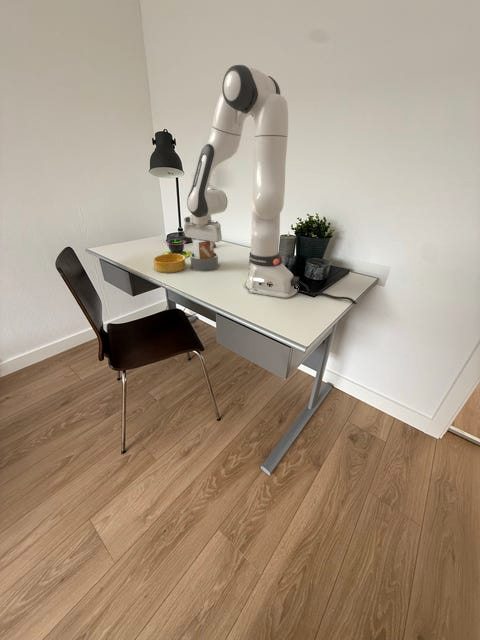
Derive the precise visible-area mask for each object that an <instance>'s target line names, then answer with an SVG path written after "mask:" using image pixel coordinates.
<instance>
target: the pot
mask: <svg viewBox="0 0 480 640" xmlns="http://www.w3.org/2000/svg"><path fill="white" fill-rule="evenodd" d="M189 259H190V268H191V269H192V270H194V271H197V272H210V271H215V270H216V269H218V268H219V255H218V253H217V252H215V251H214V257H213V258H208V259H198V258H194V252H192V253H190V256H189Z"/></svg>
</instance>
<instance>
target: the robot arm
mask: <svg viewBox="0 0 480 640" xmlns="http://www.w3.org/2000/svg"><path fill="white" fill-rule="evenodd" d="M288 108H289V107H288V102H287V100H286V98H285V97H284V96H282V95H281V88H280V86H279V84H278V82H277V81H276V80H275V79H274V77H272V76H270V75H267V74H266V73H264V72H262V71H261V70H260V69H256V68H254V67H249V66H247V65H244V64H234V65H232V66H230V67H229V68H228V69H227V70H226V72H225V74H224V75H223V80H222V93H220V95H219V97H218V100H217V103H216V106H215V109H214V114H213V118H212V124H211V130H210V134H209V137H208V140H207V142H206V144H205V145H204V146H203V147H202V149H201V151H200V154H199V157H198V162H197V165H196V170H195V173H194V177H193V180H192V182H191V185H190V191H189V193H188V196H187V198H186V206H187V209H188V211H189V213H191V214H190V215H187V216H184V217H183V222H184V223H183V232H184V233H183V234H184V236H185V237H186V238H188V239H189V238H190V239H191V241H192V242H193V240H197V239H200V240H206V241H210V244H211V245H210V246H209V250H211V251H212V250H213V246H214V244H216V243H220V242H221V241H223V236H222V230H221V229H222V228H221V227H222V226H221V223H220V222H219V221H217V220H212V215H217V214H221V213H224V212H225V211H226V209H227V207H228V197H227V195H226V193H225V192H224V190H222V189H218V188H217V187H215V186H213V185H212V184H211V183H210V182H211V181H210V180H211V177H212V173H213V172H214V170H215V169H216V167H218V165H220V164H222V163H223V162H225V161H227V160H229V159H230V158H233V156H234V155H236V153H237V152H238V149H239V147H240V145H241V144H240V143H241V139H242V133H243V128H244V124H245V121H246V119H247V118H248V117H249V116H251V117H252V118H253V119H254V120H253V121H254V135H253V136H254V137H253V167H252V168H253V170H252V171H253V172H252V197H251V198H252V200H251V203H252V204H251V230H250V231H251V232H250V233H251V235H250V252H249V258H248V259H249V263H248V264H249V270H248V276H247V279H246V282H245V286H246V288H248V289H249V293H251V294H257V295H263V296H269V297H276V298H282V299H288V298H291V297H293V296H295V295H296V294H297V293H298V292H299V290H300V287H299V288H298V286H299V285H302V286H303V287H304V288H305V289H306V292H307V291H308V292H307V294H309V295H311V296H324V297H328V298H332V299H335V300H348V301H351V302H352V303H353V304H354V305H357V304H358V303H357V302H356V300H354V299H353V298H352V297H348V296H338V295H337V296H336V295H332V294H329V293H326V292H312V291H310V288H309V286H308V285H307V284H306V283H305V282H303V281H300V276H295V275H294V274H293V273H292V272H291V271H290V270H289V268H287V266H285V264H283V260H284V255H280V253H279V249H280V247H279V246H280V235H281V230H280V229H281V213H282V211H283V209H284V205H285V192H286V165H287V164H286V163H287V162H286V161H287V151H288V139H289V138H288V137H289V109H288ZM297 285H298V286H297ZM294 286H295V287H296V288H298V290H297V289H294ZM309 291H310V293H309Z"/></svg>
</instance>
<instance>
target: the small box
mask: <svg viewBox="0 0 480 640" xmlns="http://www.w3.org/2000/svg"><path fill="white" fill-rule="evenodd" d="M192 245H193V253H194V258H198V259H208V258H213V257H214V252H215V247H214V246H213V250H212V251H211V250H209V246H210V245H211V244H210V241H206V240H200V239H197V240H193V241H192Z"/></svg>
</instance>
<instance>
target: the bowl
mask: <svg viewBox="0 0 480 640" xmlns="http://www.w3.org/2000/svg"><path fill="white" fill-rule="evenodd" d="M152 260H153V265H154V270H155V271H157V272H160V273H165V274H166V273H167V274H168V273H177V272H181V271H183V270H184V269H185V268H186V265H187V264H186V257H184V256H183V255H179V254H165V253H163V254H159V255H156V256H155V257H153V259H152Z"/></svg>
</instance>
